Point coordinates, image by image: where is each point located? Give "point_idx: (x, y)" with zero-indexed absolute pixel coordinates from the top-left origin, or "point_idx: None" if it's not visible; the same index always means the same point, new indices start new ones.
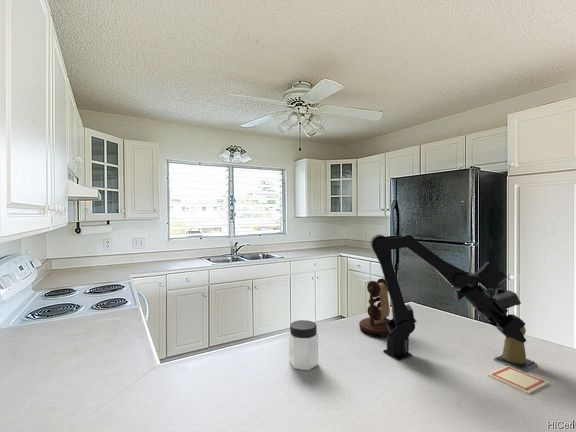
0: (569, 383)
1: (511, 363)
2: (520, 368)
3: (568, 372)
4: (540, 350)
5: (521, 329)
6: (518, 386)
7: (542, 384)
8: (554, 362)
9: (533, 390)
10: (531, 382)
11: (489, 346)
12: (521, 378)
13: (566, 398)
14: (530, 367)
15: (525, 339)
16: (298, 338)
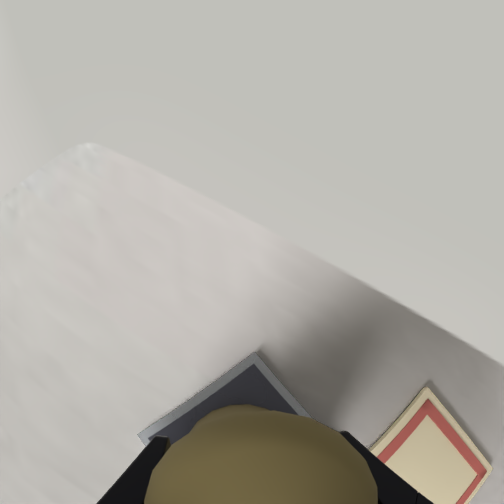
0: (396, 306)
1: None
2: None
3: (297, 255)
4: (84, 240)
5: (375, 483)
6: (470, 493)
7: (447, 415)
8: (203, 254)
9: (479, 453)
10: (443, 450)
11: (53, 463)
12: (420, 478)
13: (487, 367)
14: (300, 405)
15: (354, 440)
16: None
